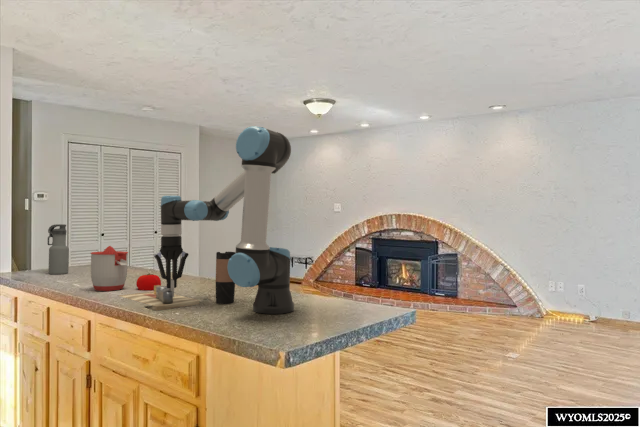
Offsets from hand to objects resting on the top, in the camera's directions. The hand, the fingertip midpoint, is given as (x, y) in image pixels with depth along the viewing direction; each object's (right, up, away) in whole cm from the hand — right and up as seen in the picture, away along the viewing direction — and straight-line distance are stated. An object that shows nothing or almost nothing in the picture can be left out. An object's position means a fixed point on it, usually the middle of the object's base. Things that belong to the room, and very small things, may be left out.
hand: (171, 296), depth 174 cm
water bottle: (-92, -2, +82) cm, 123 cm away
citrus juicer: (-38, -3, +31) cm, 49 cm away
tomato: (-19, -3, +25) cm, 32 cm away
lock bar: (-2, -1, -1) cm, 3 cm away
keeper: (-10, -1, +13) cm, 16 cm away
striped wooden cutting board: (-7, -3, +5) cm, 9 cm away
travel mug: (+19, -4, +5) cm, 20 cm away
